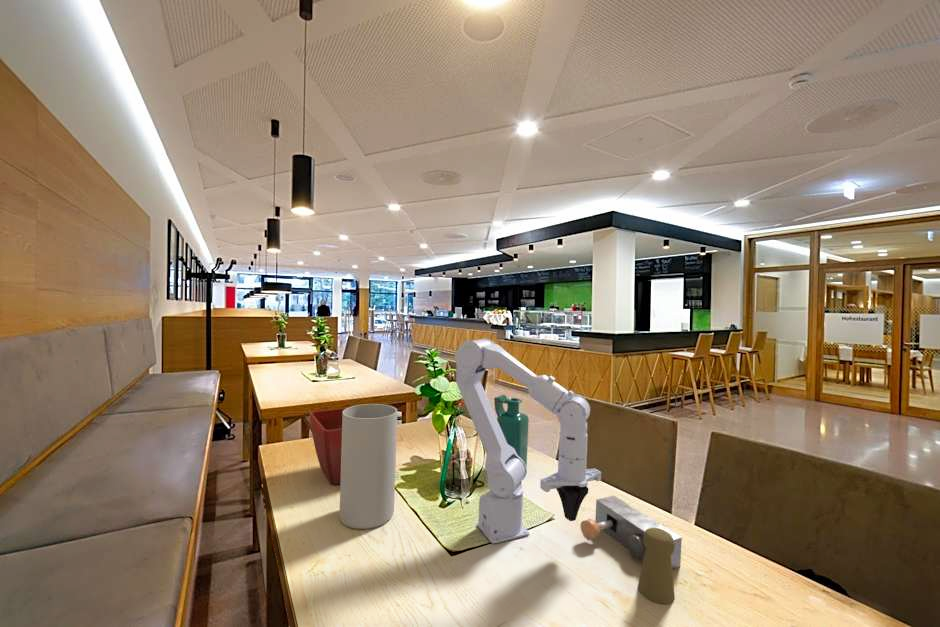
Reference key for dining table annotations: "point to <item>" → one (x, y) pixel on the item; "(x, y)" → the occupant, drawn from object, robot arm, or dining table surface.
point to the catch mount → (631, 524)
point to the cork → (657, 567)
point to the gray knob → (635, 545)
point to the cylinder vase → (368, 465)
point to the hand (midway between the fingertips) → (570, 518)
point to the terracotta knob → (594, 528)
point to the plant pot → (328, 441)
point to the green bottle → (513, 424)
